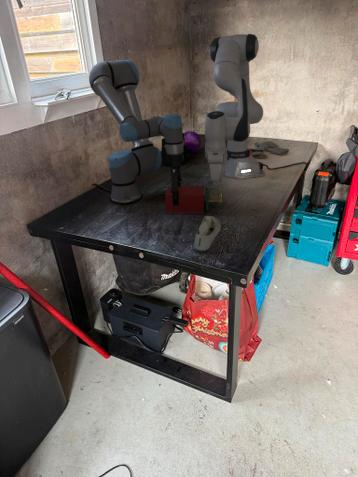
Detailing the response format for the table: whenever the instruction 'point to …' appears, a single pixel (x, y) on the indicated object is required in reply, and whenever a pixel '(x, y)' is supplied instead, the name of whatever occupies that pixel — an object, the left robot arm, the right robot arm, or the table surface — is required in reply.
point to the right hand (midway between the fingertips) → (215, 183)
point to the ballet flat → (206, 233)
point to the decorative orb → (192, 141)
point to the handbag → (163, 153)
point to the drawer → (212, 200)
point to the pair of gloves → (267, 149)
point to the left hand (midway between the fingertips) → (177, 199)
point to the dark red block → (186, 200)
